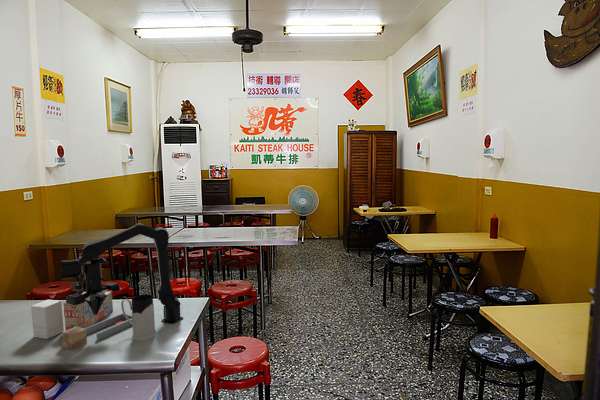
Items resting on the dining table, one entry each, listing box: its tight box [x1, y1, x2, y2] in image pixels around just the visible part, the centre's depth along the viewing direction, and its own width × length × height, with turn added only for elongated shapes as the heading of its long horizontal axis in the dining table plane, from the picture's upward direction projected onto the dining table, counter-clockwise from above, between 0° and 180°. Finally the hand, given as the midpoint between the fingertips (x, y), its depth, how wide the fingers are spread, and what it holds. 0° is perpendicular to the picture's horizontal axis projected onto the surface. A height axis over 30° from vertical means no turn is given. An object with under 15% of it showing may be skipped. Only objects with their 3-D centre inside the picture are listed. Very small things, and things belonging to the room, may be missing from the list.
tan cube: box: [61, 327, 88, 351], centre depth 138 cm, size 6×6×6 cm
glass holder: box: [121, 294, 157, 341], centre depth 145 cm, size 9×14×15 cm, turn 73°
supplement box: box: [30, 299, 65, 340], centre depth 146 cm, size 7×7×13 cm
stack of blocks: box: [63, 291, 114, 331], centre depth 159 cm, size 21×6×12 cm, turn 172°
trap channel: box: [84, 312, 133, 341], centre depth 151 cm, size 10×18×2 cm, turn 153°
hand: (95, 314), depth 145 cm, fingers closed
